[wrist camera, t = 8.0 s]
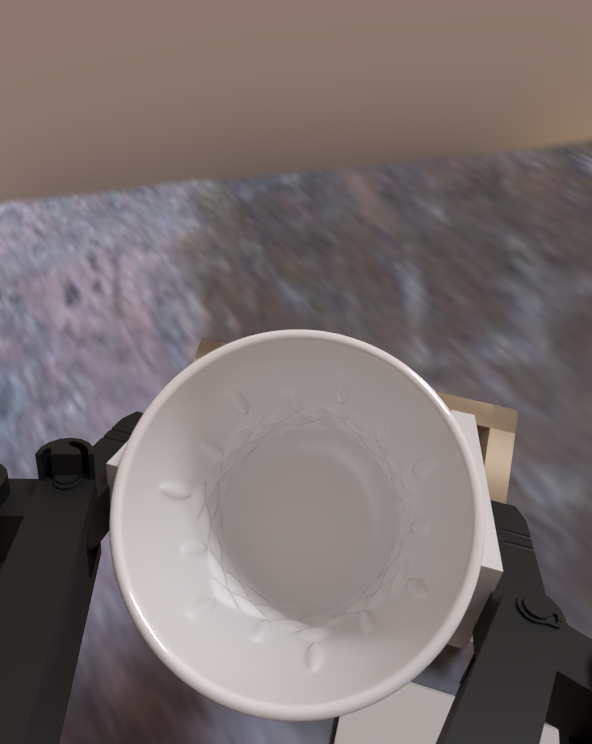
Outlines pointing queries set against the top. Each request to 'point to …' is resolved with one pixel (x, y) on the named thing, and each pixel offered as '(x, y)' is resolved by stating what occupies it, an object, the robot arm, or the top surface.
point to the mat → (406, 719)
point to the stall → (491, 426)
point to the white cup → (297, 525)
